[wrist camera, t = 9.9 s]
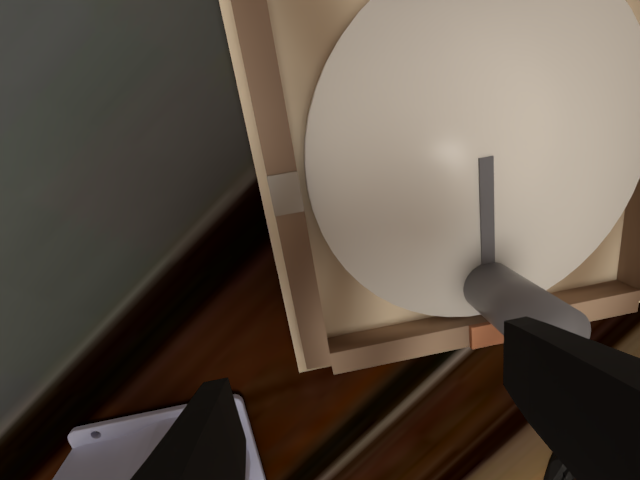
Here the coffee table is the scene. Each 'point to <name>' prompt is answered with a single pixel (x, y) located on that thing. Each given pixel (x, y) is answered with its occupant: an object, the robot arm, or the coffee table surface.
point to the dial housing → (302, 227)
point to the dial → (476, 150)
